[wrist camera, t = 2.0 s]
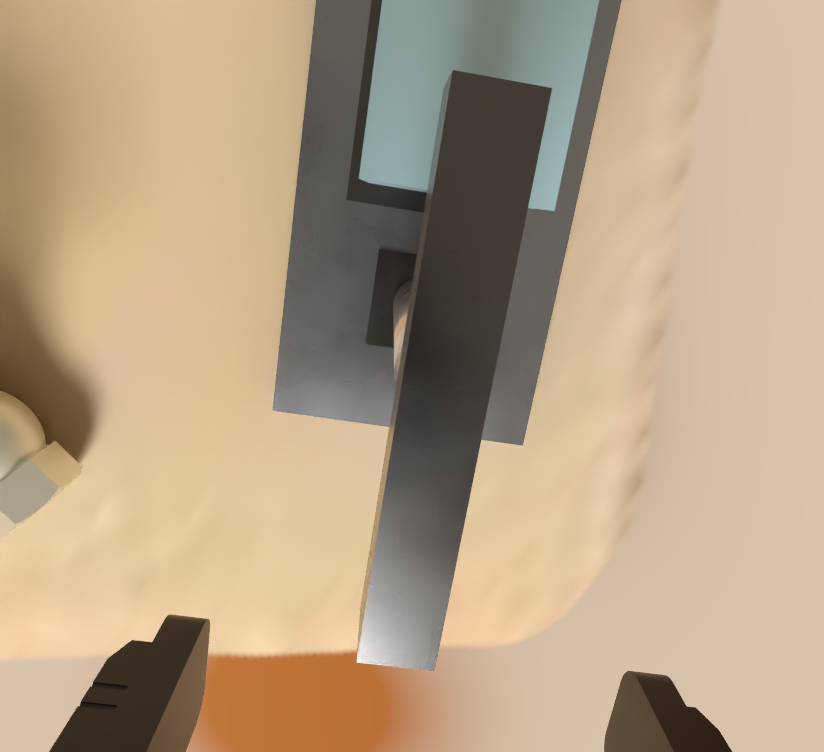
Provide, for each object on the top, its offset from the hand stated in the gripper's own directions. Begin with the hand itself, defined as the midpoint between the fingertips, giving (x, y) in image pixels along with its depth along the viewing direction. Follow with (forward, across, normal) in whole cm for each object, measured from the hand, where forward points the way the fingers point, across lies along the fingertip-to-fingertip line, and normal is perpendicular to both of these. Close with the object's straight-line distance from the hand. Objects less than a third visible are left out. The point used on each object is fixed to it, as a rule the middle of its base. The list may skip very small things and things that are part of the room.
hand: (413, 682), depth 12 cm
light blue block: (+13, 0, -13) cm, 19 cm away
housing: (+16, 0, -9) cm, 18 cm away
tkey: (+13, 0, -5) cm, 14 cm away
